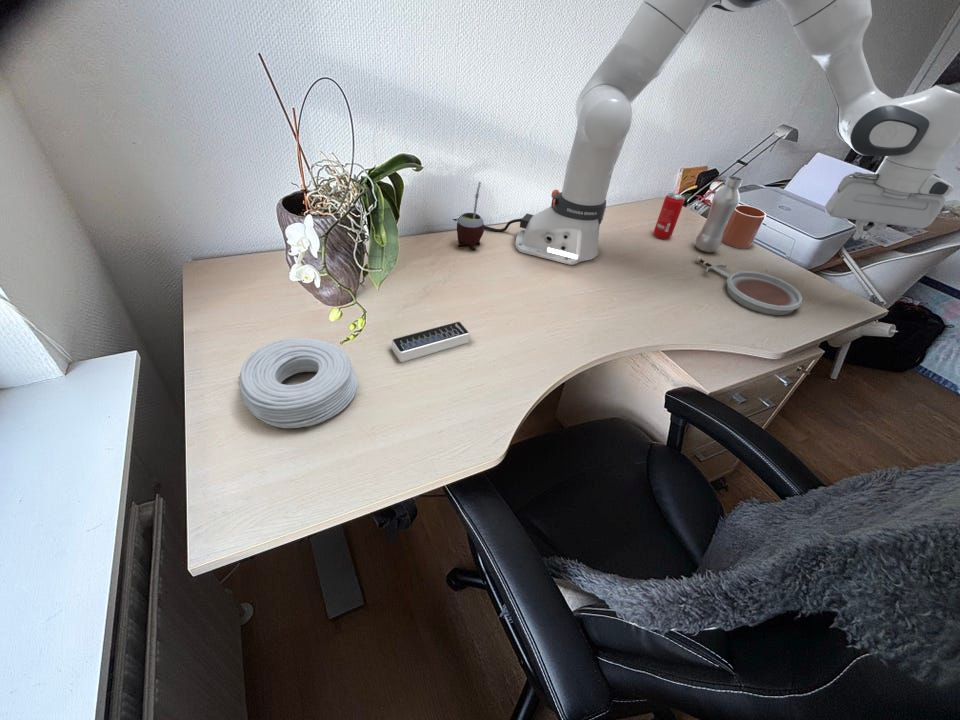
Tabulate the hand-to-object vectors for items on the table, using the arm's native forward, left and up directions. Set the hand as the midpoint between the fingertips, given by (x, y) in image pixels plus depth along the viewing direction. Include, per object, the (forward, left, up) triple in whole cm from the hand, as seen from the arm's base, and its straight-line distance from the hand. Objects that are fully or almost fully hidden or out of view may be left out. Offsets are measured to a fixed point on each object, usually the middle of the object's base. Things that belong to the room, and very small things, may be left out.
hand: (860, 239), depth 103 cm
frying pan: (-19, 0, -16) cm, 25 cm away
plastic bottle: (-25, +19, -16) cm, 35 cm away
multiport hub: (-87, -45, -16) cm, 100 cm away
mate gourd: (-89, -1, -16) cm, 91 cm away
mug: (-16, +29, -16) cm, 36 cm away
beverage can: (-36, +24, -16) cm, 46 cm away
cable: (-104, -63, -16) cm, 123 cm away
